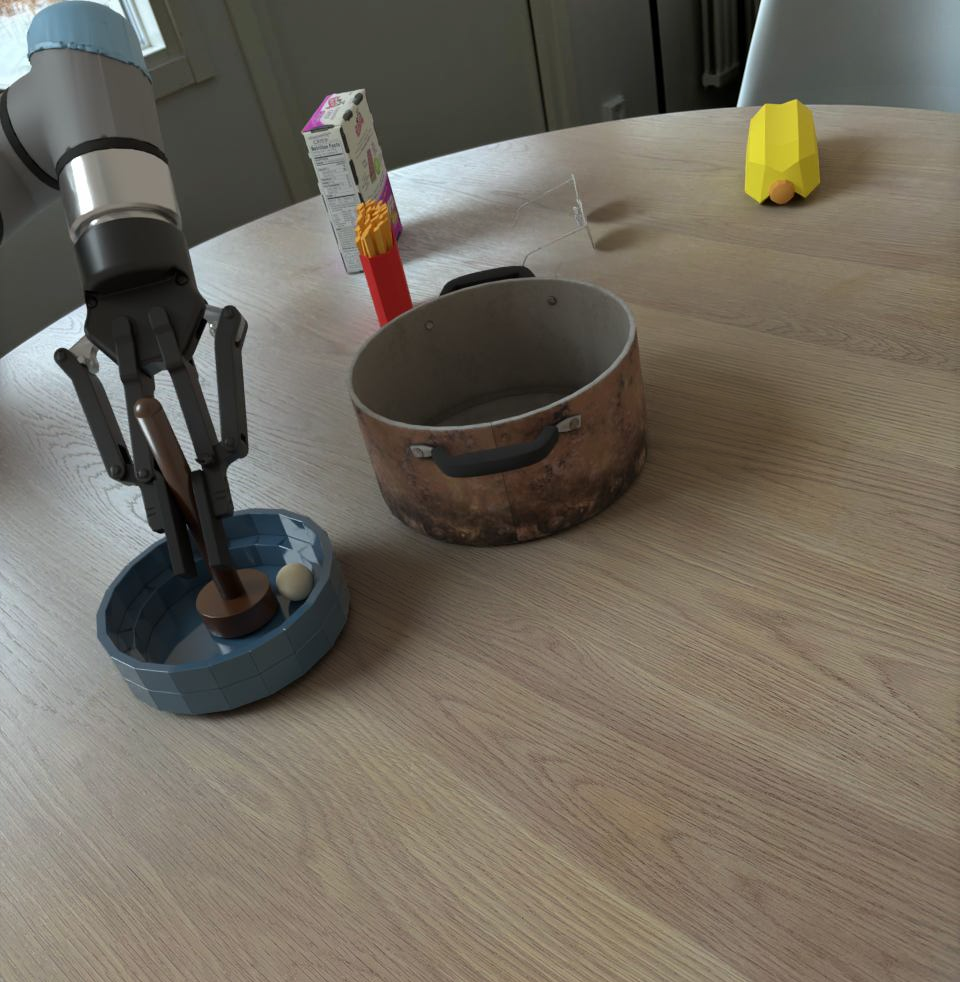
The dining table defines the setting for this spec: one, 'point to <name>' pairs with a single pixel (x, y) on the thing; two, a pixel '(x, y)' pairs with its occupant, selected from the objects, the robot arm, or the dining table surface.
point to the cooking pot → (503, 407)
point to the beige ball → (295, 582)
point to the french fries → (381, 262)
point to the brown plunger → (232, 593)
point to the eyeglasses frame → (574, 212)
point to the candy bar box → (348, 167)
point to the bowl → (203, 656)
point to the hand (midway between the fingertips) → (204, 571)
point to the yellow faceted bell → (781, 153)
